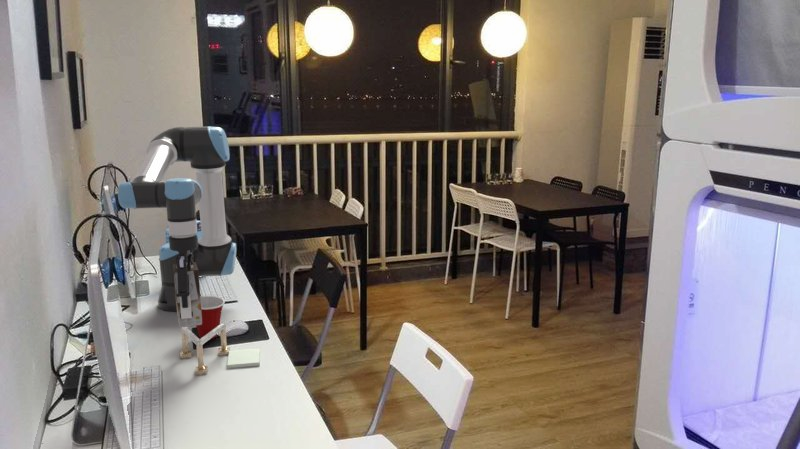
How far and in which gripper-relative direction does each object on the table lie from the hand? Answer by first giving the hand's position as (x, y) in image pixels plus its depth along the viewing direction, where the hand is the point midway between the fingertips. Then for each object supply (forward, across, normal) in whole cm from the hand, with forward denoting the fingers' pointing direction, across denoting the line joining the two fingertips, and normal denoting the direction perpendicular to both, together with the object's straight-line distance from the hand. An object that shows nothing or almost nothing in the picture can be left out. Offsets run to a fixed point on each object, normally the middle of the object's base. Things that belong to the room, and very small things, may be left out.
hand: (188, 311), depth 180 cm
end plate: (+16, 0, +14) cm, 22 cm away
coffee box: (+3, 0, 0) cm, 3 cm away
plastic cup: (+16, -20, +3) cm, 26 cm away
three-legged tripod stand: (+16, -1, +3) cm, 16 cm away
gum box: (+16, -83, -11) cm, 85 cm away
